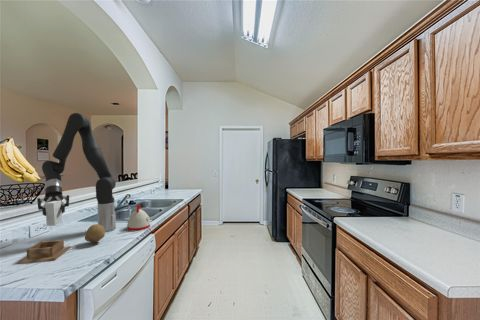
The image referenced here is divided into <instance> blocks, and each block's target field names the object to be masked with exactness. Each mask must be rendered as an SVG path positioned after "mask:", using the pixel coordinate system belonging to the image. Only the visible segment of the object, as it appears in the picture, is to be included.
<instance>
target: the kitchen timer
mask: <svg viewBox="0 0 480 320" xmlns="http://www.w3.org/2000/svg"><path fill="white" fill-rule="evenodd" d="M141 207H142V206H141V204H137V205H136V210H134V211H133V212H132V213H131V214H130V216H129V217H128V218H127V224H126V230H128V231H129V232H130V231H131V232H132V231H133V232H134V231H135V232H136V231H143V230H144V231H145V230H147V229H150V227H151V219H150V216H149V215H148V214H147V212H146V211H145V210H143V209H141Z"/></svg>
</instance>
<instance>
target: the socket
mask: <svg viewBox="0 0 480 320" xmlns="http://www.w3.org/2000/svg"><path fill="white" fill-rule="evenodd" d="M64 243H65V241H64V239H61V240H47V241H39V242H38V243H35V244H34V245H33V246H30V247H29V248H27V249H26V255H25V256H24V257H23V258H21V259H20V260H18V261H17V263H18V264H26V263H39V262H49V261H56V260H58V259H59V258H60V257H61V256H62V255H64V254H65V253H67V251H68V250H70V249H71V245H69V246H68V245H67V246H64V245H65V244H64Z"/></svg>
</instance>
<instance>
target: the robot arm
mask: <svg viewBox="0 0 480 320" xmlns="http://www.w3.org/2000/svg"><path fill="white" fill-rule="evenodd" d="M77 133H78V135H80V138H81V146H82V152H83V155H84V156H85V159H86V160H87V162H88V164H89V165H90V166H91V167H92V169H94V171H95V172H96V174H97V178H98V180H97V181H96V183H95V198H96V200H97V224H99V225H101V226H102V227H103V228H104V230H105V233H106V232H111V231H114V230H115V229H116V228H117V225H116V223H117V221H116V219H117V218H116V215H117V214H116V213H115V197H114V196H113V190H114V189H115V188H116V179H115V178H114V176H113V174H112V173H111V171H110V169H109V167H108V165H107V164H108V163H107V161H106V160H105V157H104V155H103V152H102V149H101V147H100V144H99V143H98V141H97V139H96V137H95V134H94V132H93V129H92V125H91V122H90V119H89V118H88V116H86V115H84V114H82V113H79V112H73V113H71V114H70V115H69V117H68V118H67V121H66V124H65V128H64V131H63V133H62V136H61V138H60V140H59V142H58V144H57V146H56V148H55V149H54V151H53V153H52V156H53V158H55V159H56V160H58V162H56V161H53V160H46V161H44V162H43V163H42V165H41V171H42V173H43V176H44V178H45V185H44V197H43V198H40V197H38V198H37V199H36V200H37V209H38V210H39V211H40V210H41V211H42V215H43V216H44V217H46V206H45V203H48V202H52V201H61V207H62V215H63V214H64V213H65V212H66V208H67V207H69V205H70V195H65V196H64V195H63V184H62V175H61V174H63V172H64V171H65V168H66V167H65V166H66V162H67V158H68V156H69V155H70V152H71V151H72V149H73V144H74V139H75V137H76V134H77ZM63 200H64V201H65V202H66V203H64V202H63ZM43 202H45V203H44V204H43V205H42V203H43Z"/></svg>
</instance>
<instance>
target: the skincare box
mask: <svg viewBox="0 0 480 320" xmlns="http://www.w3.org/2000/svg"><path fill="white" fill-rule="evenodd" d="M44 204H45V206H46V216H45V217H46V218H45V219H46V227H54V226H57V225H59V224H61V223H63V214H62V207H61V201H52V202H48V203H44Z"/></svg>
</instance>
